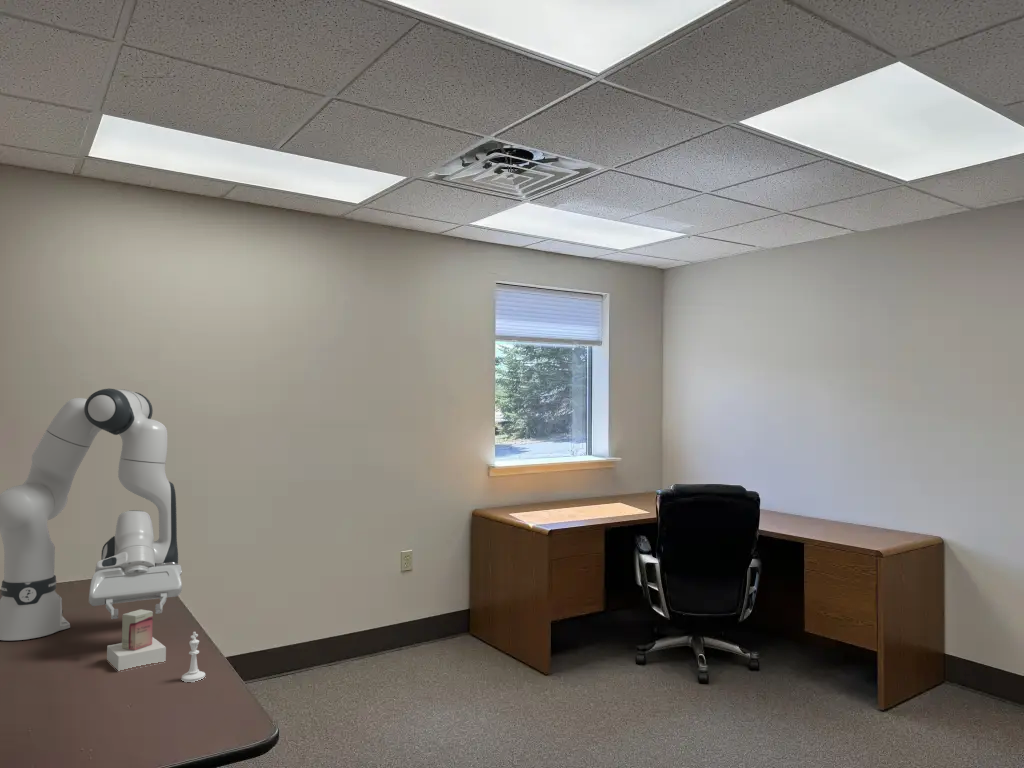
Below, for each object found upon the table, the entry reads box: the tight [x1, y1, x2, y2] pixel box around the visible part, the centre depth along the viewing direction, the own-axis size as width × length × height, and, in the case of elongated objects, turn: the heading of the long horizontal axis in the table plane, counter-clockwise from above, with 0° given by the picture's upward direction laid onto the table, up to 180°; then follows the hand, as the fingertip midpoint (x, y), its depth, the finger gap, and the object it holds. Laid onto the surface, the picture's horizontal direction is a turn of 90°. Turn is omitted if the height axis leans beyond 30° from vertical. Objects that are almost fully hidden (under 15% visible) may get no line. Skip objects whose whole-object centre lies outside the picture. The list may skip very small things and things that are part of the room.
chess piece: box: [180, 631, 206, 683], centre depth 161 cm, size 5×5×10 cm
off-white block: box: [106, 636, 167, 672], centre depth 171 cm, size 10×10×4 cm
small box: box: [121, 608, 154, 650], centre depth 171 cm, size 5×4×8 cm
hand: (137, 614), depth 176 cm, fingers open, 8 cm apart
